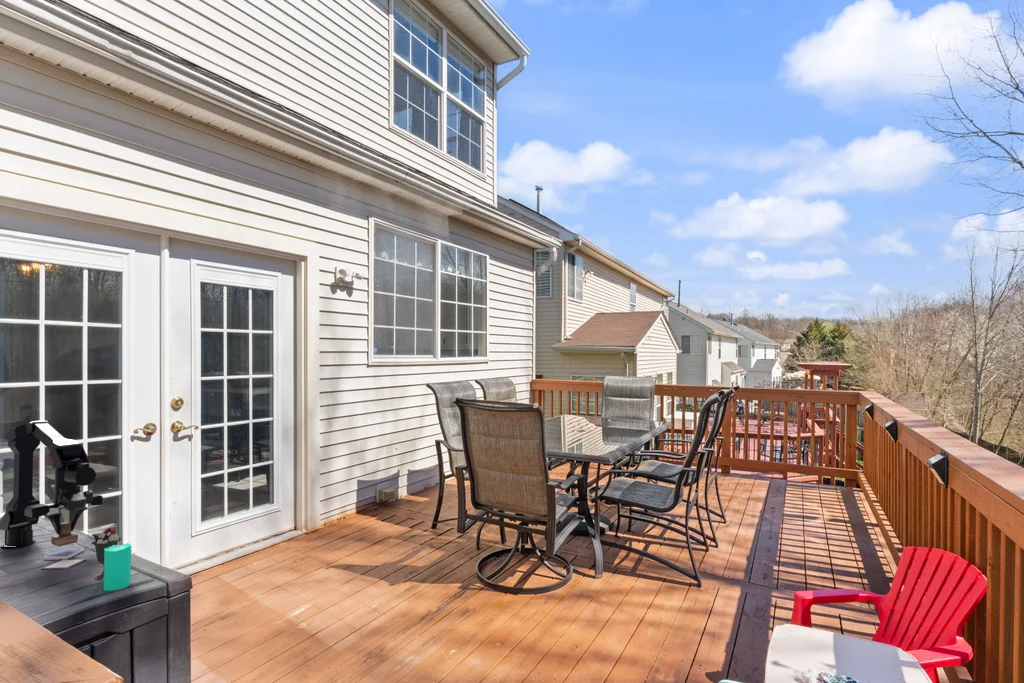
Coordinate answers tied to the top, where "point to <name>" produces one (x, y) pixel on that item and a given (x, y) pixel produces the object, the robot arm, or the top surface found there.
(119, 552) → the candle
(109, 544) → the sundae
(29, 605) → the top surface
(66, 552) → the ink pad
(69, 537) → the stamp
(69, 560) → the marked card
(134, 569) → the top surface
